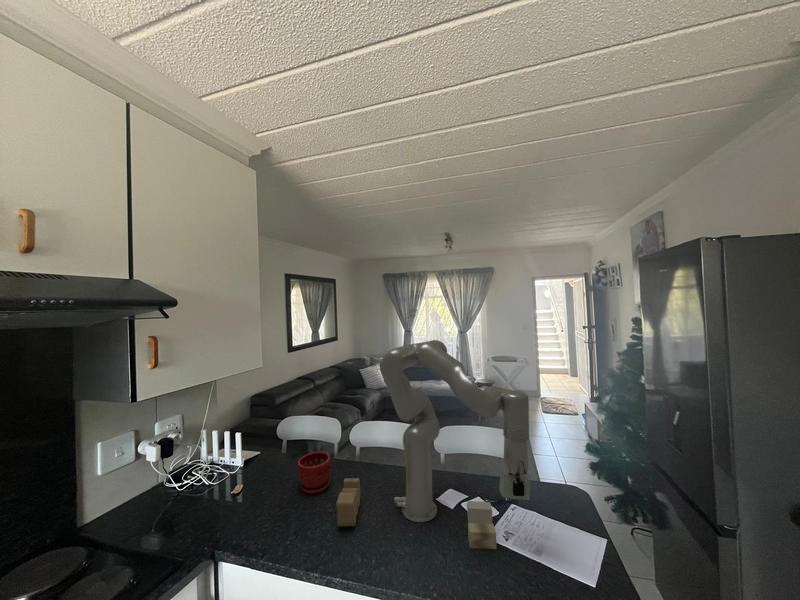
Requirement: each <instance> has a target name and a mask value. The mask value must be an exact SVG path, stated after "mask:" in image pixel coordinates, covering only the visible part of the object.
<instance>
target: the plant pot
mask: <svg viewBox="0 0 800 600" xmlns="http://www.w3.org/2000/svg"><path fill="white" fill-rule="evenodd" d="M321 460H323V462H321ZM310 462H311V463H310ZM331 464H332V463H331V456H330V454H329V453H328V452H326V451H315V452H310V453H307V454H305V455H303V456H302V457H300V458H299V459H298V461H297V471H298V477H299V481H300V482H301V486H300V488H301V490H302V492H304V493H306V494H317V493H321V492H323V491H324V490H326V489H327V487H328V486H330V484H331V478H330V473H331Z"/></svg>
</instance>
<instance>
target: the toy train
mask: <svg viewBox="0 0 800 600" xmlns="http://www.w3.org/2000/svg"><path fill="white" fill-rule="evenodd" d="M360 484H361V483H360V478H359V477H357V478H356V477H355V478H353V477H352V478H344V479H343V488H341V491H340V492H339V494H338V498H337V501H336V502H335V503H336V505H335V506H336V517H337V519H336V520H337V526H338V527H355V526H356V522H357V516H358V515H359V514H358V513H359V512H358V511H359V508H360V504H361V496H362V495H361V494H362V493H361V485H360Z"/></svg>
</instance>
